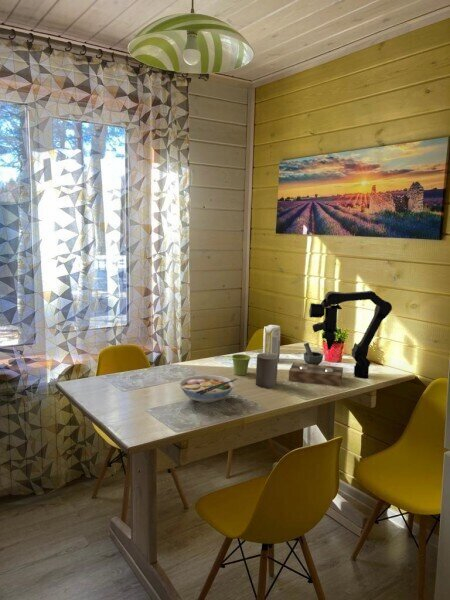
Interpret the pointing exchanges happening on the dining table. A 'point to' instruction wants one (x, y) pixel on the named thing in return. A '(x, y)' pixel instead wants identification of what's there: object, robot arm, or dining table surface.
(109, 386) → the dining table surface
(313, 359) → the mortar and pestle
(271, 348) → the juice carton
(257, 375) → the pillar candle
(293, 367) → the walnut block
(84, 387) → the dining table surface
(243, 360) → the plant pot
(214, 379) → the ramen bowl
